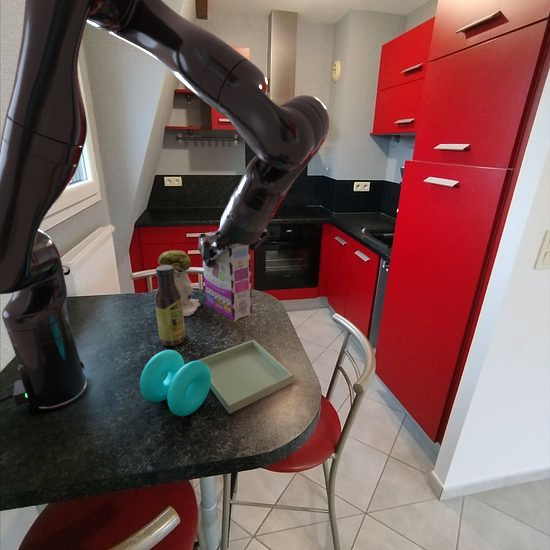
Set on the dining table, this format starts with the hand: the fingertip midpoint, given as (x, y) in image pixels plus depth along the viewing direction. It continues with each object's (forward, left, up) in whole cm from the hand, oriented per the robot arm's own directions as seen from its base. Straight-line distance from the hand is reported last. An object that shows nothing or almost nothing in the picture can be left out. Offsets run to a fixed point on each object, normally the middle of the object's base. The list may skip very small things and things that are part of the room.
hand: (221, 260), depth 67 cm
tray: (0, -8, -24) cm, 25 cm away
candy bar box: (0, -2, -11) cm, 11 cm away
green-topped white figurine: (-1, +30, -24) cm, 39 cm away
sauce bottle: (-8, +14, -24) cm, 30 cm away
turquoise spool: (-14, -7, -24) cm, 29 cm away
